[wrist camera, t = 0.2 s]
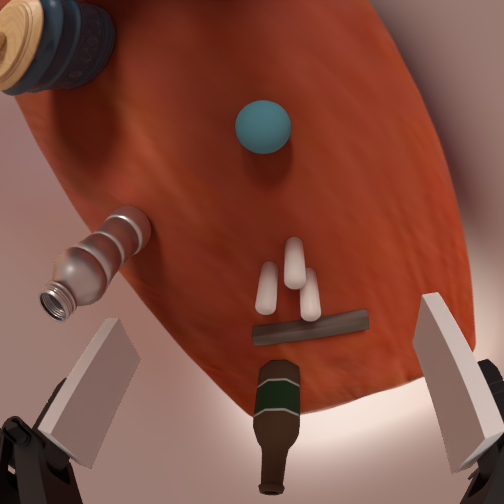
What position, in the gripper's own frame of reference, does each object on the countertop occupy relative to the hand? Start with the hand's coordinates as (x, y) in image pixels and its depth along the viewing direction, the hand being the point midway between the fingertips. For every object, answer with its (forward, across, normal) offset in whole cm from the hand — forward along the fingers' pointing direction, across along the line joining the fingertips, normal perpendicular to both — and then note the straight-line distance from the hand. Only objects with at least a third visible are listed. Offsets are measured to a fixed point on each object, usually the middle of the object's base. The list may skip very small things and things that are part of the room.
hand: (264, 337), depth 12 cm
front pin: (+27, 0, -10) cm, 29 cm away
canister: (+28, -23, +24) cm, 44 cm away
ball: (+24, -1, +6) cm, 25 cm away
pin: (+27, +2, -15) cm, 31 cm away
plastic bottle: (+27, -21, -4) cm, 35 cm away
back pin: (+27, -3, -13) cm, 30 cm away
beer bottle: (+27, -4, -35) cm, 45 cm away
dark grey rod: (+27, +2, -24) cm, 36 cm away
